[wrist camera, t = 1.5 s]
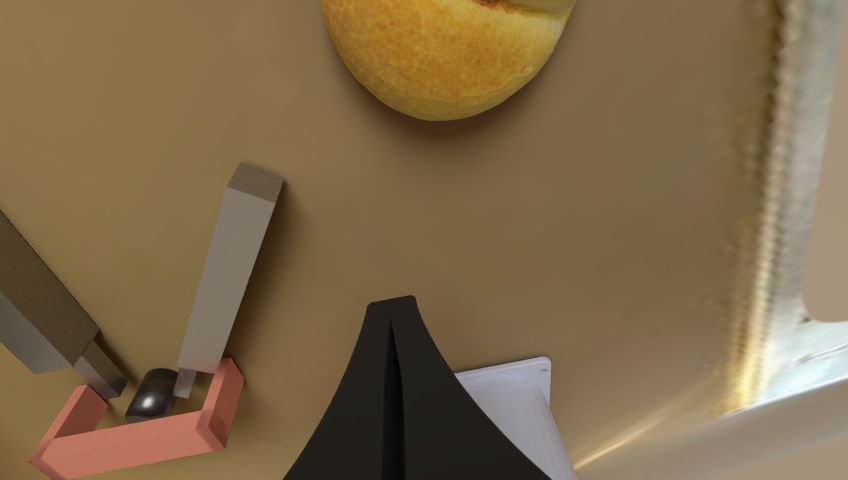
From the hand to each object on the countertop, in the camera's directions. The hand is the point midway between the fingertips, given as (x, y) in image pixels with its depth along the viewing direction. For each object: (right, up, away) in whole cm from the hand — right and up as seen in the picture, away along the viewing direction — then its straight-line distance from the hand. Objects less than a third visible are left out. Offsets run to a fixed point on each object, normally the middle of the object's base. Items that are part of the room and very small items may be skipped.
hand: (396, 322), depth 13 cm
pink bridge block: (-14, -5, +12) cm, 19 cm away
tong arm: (-9, 0, +8) cm, 12 cm away
